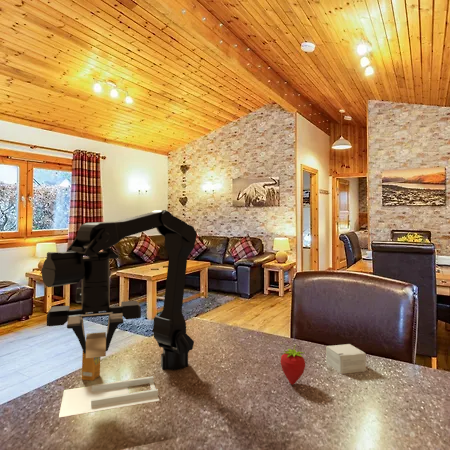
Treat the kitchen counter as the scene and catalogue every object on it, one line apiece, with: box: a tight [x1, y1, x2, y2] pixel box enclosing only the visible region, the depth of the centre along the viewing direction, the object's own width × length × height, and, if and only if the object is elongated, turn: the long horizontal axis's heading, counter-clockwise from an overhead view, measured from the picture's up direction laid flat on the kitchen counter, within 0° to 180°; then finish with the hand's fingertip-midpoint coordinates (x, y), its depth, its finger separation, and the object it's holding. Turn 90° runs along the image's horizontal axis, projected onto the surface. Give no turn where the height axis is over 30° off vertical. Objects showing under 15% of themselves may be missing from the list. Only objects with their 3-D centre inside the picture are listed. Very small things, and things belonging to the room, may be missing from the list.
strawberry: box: [280, 344, 306, 386], centre depth 88 cm, size 6×8×10 cm
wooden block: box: [85, 331, 107, 358], centre depth 77 cm, size 4×4×4 cm
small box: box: [325, 343, 367, 375], centre depth 99 cm, size 8×8×5 cm
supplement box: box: [81, 351, 101, 381], centre depth 88 cm, size 3×3×10 cm
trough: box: [58, 375, 160, 418], centre depth 79 cm, size 20×12×3 cm, turn 110°
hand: (96, 351), depth 77 cm, fingers closed on wooden block, 4 cm apart
